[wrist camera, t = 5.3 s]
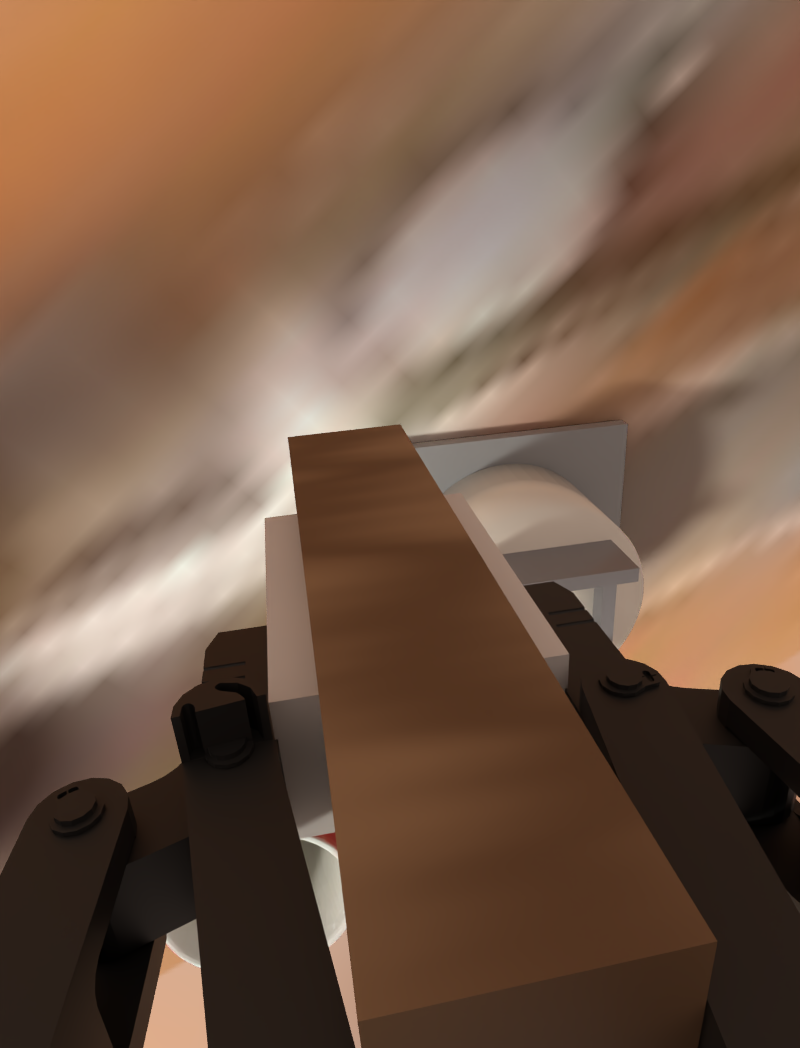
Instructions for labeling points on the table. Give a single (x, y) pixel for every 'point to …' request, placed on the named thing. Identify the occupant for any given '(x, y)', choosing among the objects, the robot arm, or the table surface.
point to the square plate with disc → (552, 510)
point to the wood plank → (473, 791)
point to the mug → (326, 891)
